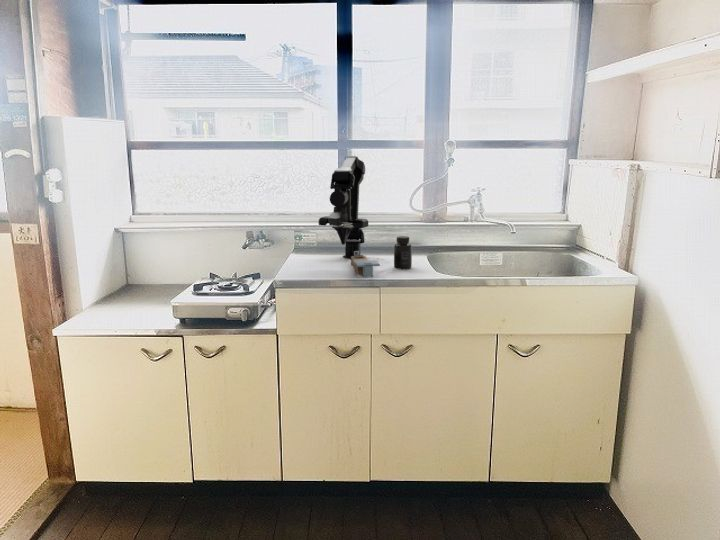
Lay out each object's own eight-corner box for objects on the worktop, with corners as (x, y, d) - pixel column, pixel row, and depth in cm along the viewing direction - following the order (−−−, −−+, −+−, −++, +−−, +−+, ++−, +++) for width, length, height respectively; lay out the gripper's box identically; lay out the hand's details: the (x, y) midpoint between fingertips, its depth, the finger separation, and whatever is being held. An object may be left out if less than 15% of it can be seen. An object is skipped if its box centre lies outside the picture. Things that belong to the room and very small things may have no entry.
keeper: (379, 276, 190) (379, 263, 189) (357, 277, 188) (357, 265, 187) (374, 271, 196) (374, 260, 195) (353, 272, 194) (353, 261, 193)
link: (372, 274, 193) (372, 265, 192) (357, 274, 192) (357, 266, 191) (364, 263, 210) (364, 255, 209) (350, 264, 209) (350, 256, 209)
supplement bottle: (413, 266, 205) (414, 236, 203) (409, 270, 199) (409, 238, 196) (396, 265, 207) (396, 235, 205) (391, 268, 201) (392, 237, 198)
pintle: (356, 264, 209) (356, 250, 208) (360, 265, 208) (360, 251, 207) (352, 265, 207) (352, 251, 206) (357, 265, 206) (357, 252, 205)
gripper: (310, 204, 195) (311, 246, 199) (356, 207, 188) (356, 250, 191) (325, 201, 205) (325, 241, 209) (369, 204, 197) (368, 244, 201)
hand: (343, 244), depth 202 cm, fingers closed
